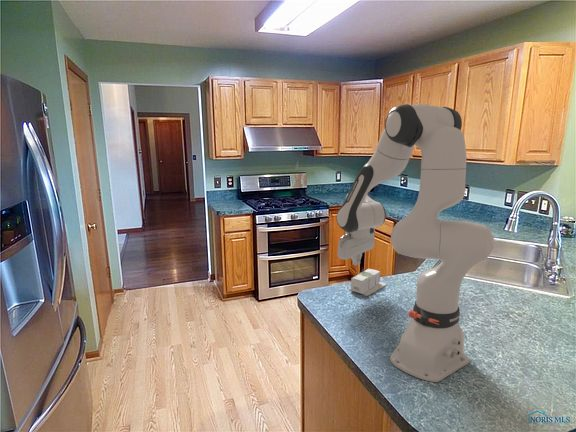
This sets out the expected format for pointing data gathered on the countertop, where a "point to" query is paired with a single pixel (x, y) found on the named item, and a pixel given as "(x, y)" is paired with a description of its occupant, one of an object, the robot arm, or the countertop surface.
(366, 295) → the cream flat rectangular slab
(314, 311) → the countertop surface
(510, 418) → the countertop surface
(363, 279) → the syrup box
